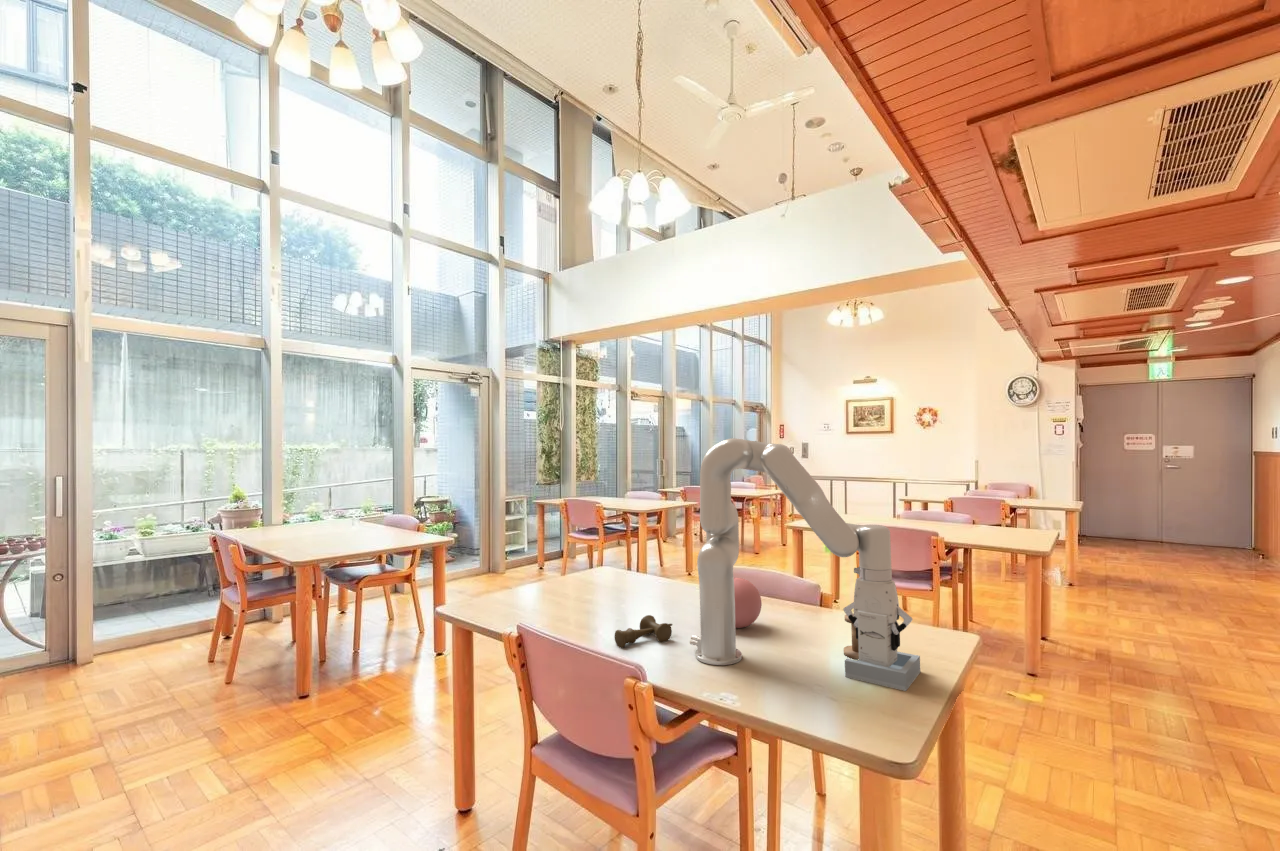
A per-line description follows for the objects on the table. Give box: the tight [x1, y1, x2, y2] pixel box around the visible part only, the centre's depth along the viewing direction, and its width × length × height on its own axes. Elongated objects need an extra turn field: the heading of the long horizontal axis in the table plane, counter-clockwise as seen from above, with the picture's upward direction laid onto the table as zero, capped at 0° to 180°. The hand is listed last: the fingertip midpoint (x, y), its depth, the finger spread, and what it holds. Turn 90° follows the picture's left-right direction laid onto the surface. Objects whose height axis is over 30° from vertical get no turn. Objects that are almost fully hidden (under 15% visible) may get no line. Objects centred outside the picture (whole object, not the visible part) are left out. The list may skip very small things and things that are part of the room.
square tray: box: [844, 650, 921, 692], centre depth 142 cm, size 14×14×4 cm
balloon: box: [734, 577, 763, 629], centre depth 184 cm, size 15×20×15 cm
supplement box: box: [858, 611, 898, 668], centre depth 143 cm, size 7×7×13 cm
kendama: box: [614, 614, 673, 649], centre depth 171 cm, size 6×10×20 cm
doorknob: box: [843, 612, 859, 660], centre depth 156 cm, size 8×8×10 cm
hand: (877, 645), depth 143 cm, fingers closed on supplement box, 7 cm apart
